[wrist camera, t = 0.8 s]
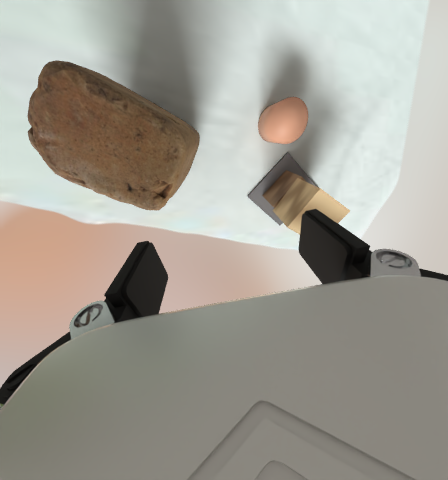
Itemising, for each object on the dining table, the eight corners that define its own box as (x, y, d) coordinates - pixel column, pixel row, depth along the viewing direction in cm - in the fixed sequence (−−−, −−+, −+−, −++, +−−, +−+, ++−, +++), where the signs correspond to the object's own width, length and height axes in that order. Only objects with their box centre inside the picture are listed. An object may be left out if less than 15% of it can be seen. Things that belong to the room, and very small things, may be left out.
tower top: (297, 177, 25) (320, 188, 20) (323, 196, 27) (350, 210, 22) (272, 210, 28) (287, 227, 23) (298, 225, 30) (316, 244, 25)
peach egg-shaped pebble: (275, 95, 25) (293, 85, 20) (295, 122, 27) (315, 119, 22) (251, 126, 27) (262, 124, 22) (271, 149, 29) (285, 152, 24)
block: (205, 134, 27) (203, 133, 10) (186, 177, 30) (161, 232, 13) (134, 89, 23) (-55, -34, 6) (121, 143, 26) (-27, 157, 10)
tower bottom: (286, 170, 30) (302, 176, 25) (304, 191, 33) (322, 201, 28) (262, 195, 33) (272, 206, 28) (281, 213, 35) (293, 226, 30)
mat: (287, 152, 29) (288, 152, 29) (317, 189, 33) (318, 189, 33) (247, 196, 33) (247, 196, 32) (279, 224, 37) (279, 225, 36)
